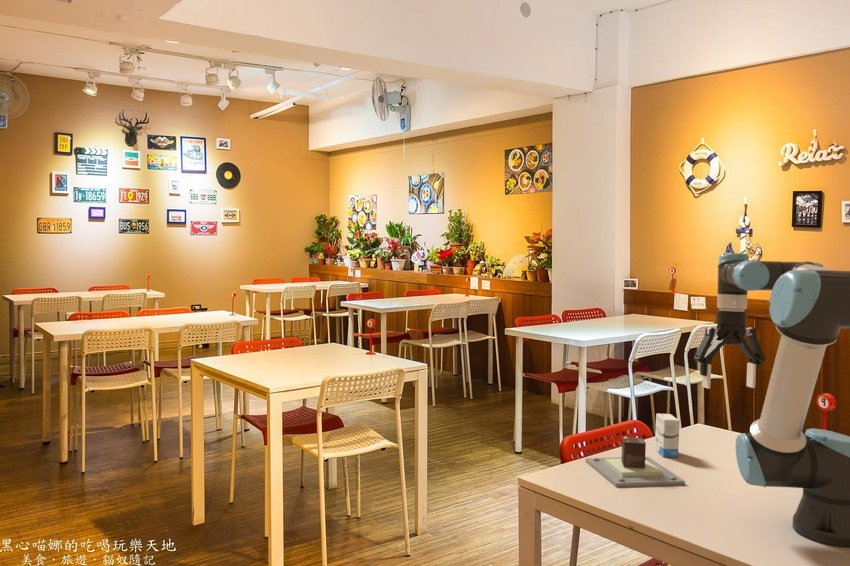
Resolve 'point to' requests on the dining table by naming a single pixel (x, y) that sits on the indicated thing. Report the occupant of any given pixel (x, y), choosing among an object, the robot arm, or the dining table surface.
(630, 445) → the box
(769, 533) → the dining table surface
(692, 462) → the dining table surface
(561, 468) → the dining table surface
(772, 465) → the robot arm
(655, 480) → the board
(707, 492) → the dining table surface
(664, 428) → the ink box
